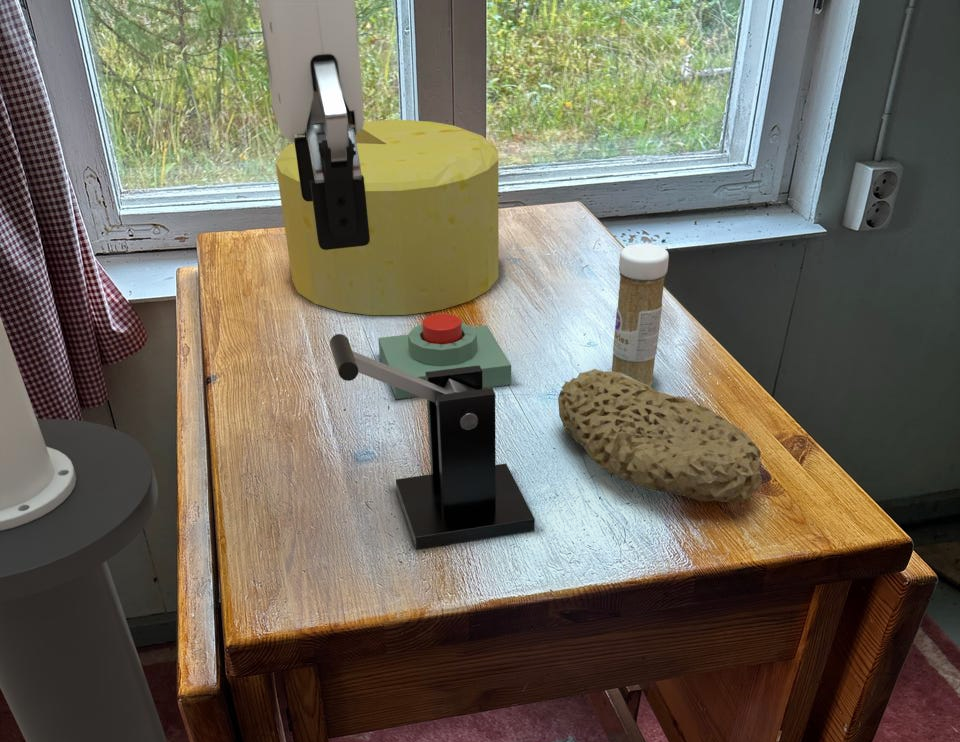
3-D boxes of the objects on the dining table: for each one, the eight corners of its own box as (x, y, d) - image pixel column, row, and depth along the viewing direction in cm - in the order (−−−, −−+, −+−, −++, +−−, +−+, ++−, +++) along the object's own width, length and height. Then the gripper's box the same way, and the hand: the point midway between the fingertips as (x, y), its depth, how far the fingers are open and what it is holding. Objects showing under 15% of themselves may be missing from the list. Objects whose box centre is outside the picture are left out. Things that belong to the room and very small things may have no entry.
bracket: (416, 549, 79) (406, 418, 71) (396, 490, 85) (385, 365, 77) (534, 530, 80) (538, 401, 72) (506, 474, 87) (506, 350, 79)
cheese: (290, 244, 131) (273, 121, 121) (481, 231, 134) (480, 110, 124) (294, 323, 112) (273, 185, 102) (516, 306, 114) (518, 170, 104)
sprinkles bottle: (601, 378, 100) (611, 246, 92) (639, 369, 102) (653, 239, 93) (623, 397, 97) (636, 262, 88) (662, 388, 99) (678, 254, 90)
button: (427, 348, 98) (426, 331, 97) (419, 332, 101) (418, 316, 100) (465, 343, 99) (465, 327, 98) (457, 327, 102) (456, 311, 101)
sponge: (541, 445, 93) (633, 518, 76) (551, 362, 89) (651, 420, 73) (662, 446, 97) (774, 515, 81) (677, 366, 94) (798, 422, 77)
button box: (396, 399, 98) (393, 362, 95) (379, 357, 105) (376, 321, 102) (511, 384, 100) (511, 347, 97) (487, 344, 107) (486, 308, 104)
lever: (332, 382, 70) (346, 353, 68) (324, 353, 73) (336, 324, 72) (475, 437, 76) (490, 411, 74) (461, 407, 79) (475, 382, 78)
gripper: (220, -110, 59) (267, 188, 70) (235, -83, 46) (290, 275, 58) (342, -116, 60) (369, 177, 72) (390, -91, 48) (414, 260, 59)
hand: (334, 221), depth 65 cm, fingers open, 9 cm apart
